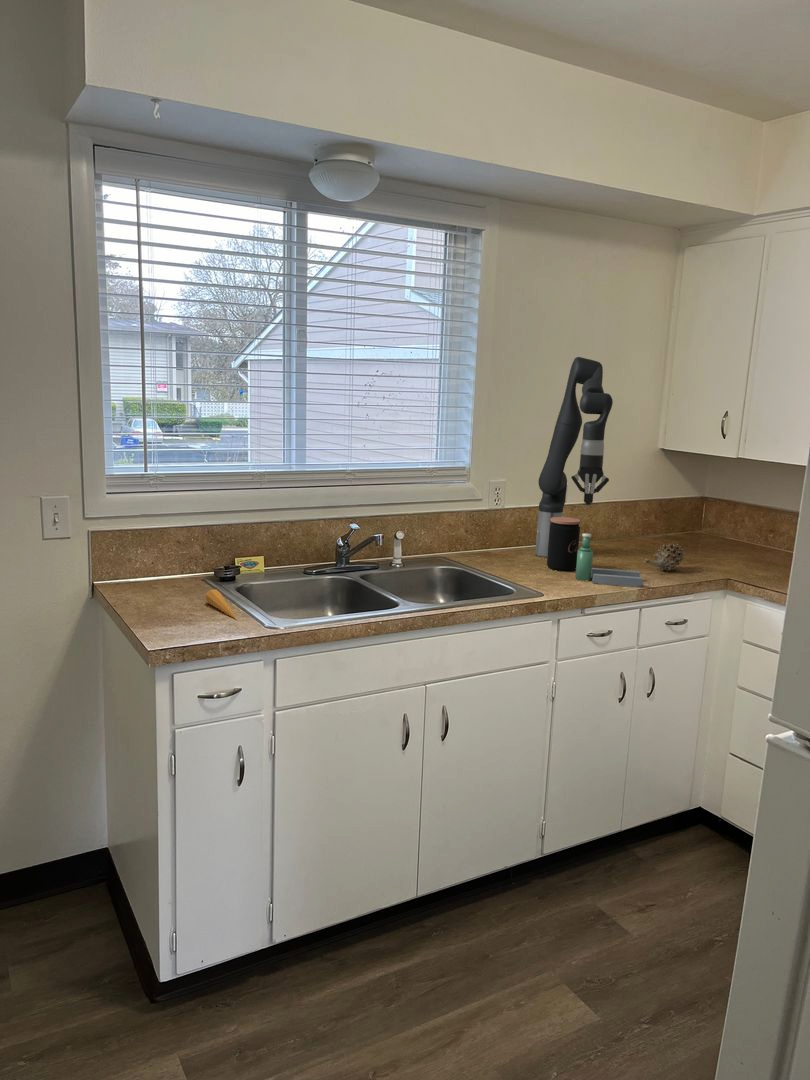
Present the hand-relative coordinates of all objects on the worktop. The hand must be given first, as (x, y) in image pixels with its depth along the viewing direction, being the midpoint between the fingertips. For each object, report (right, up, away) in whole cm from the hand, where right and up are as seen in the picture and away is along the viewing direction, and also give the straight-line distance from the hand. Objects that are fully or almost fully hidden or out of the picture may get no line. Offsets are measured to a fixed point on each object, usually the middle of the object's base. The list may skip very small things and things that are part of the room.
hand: (588, 504), depth 279 cm
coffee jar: (-6, -23, +17) cm, 29 cm away
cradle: (+10, -26, +1) cm, 28 cm away
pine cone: (+31, -24, +19) cm, 43 cm away
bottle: (-1, -25, +2) cm, 26 cm away
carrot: (-112, -32, -52) cm, 128 cm away
